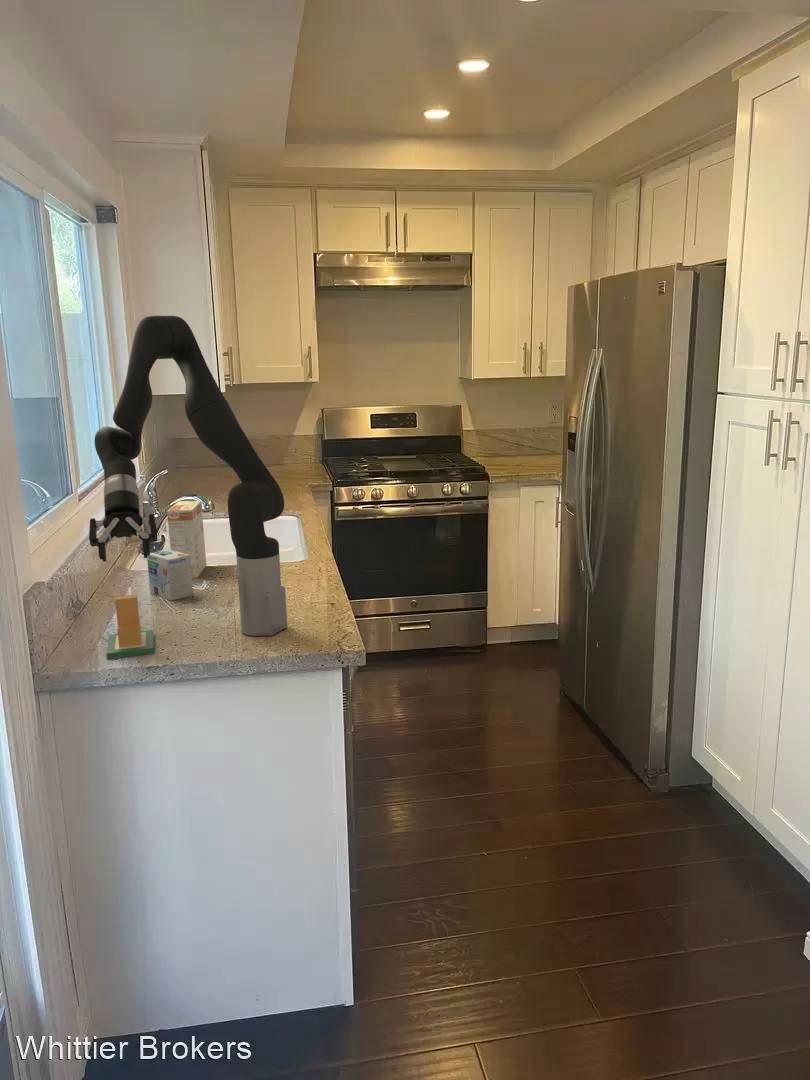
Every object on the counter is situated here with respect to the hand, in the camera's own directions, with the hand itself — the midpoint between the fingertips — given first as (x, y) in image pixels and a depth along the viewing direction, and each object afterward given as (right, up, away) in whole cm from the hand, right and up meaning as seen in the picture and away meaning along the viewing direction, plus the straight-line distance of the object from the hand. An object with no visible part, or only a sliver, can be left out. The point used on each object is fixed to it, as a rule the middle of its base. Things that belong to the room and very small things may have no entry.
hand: (125, 558), depth 169 cm
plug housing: (+3, -17, -6) cm, 18 cm away
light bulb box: (+1, -10, +30) cm, 32 cm away
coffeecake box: (0, -6, +52) cm, 52 cm away
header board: (+4, -18, -7) cm, 20 cm away
